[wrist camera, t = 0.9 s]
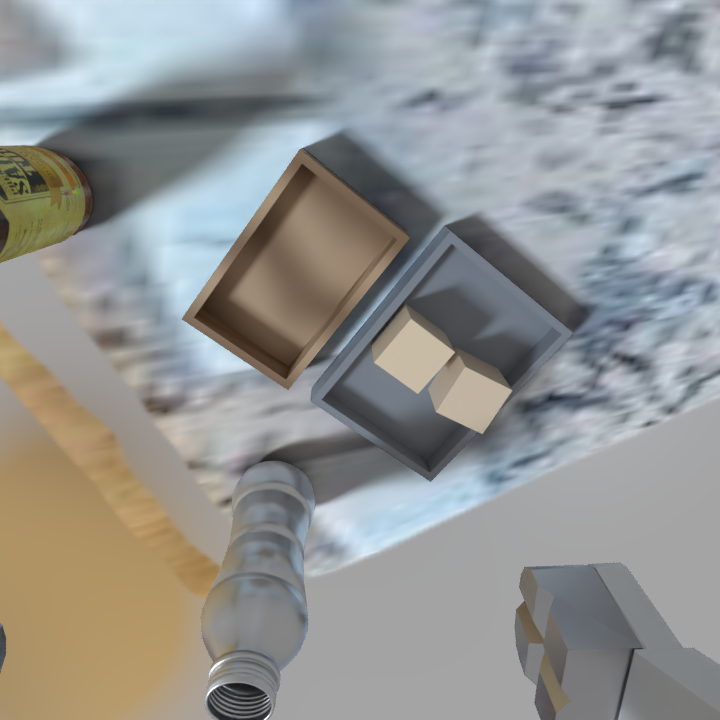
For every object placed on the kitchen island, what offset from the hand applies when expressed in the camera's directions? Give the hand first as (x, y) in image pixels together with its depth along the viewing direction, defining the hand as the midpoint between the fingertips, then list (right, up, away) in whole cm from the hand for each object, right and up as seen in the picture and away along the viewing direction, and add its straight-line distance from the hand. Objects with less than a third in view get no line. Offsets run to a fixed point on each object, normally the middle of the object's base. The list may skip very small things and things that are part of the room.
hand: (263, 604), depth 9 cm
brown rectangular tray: (-3, +10, +32) cm, 34 cm away
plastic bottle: (-5, -7, +39) cm, 40 cm away
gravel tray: (+7, +4, +35) cm, 36 cm away
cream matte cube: (+5, +5, +34) cm, 35 cm away
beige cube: (+10, +2, +35) cm, 37 cm away
